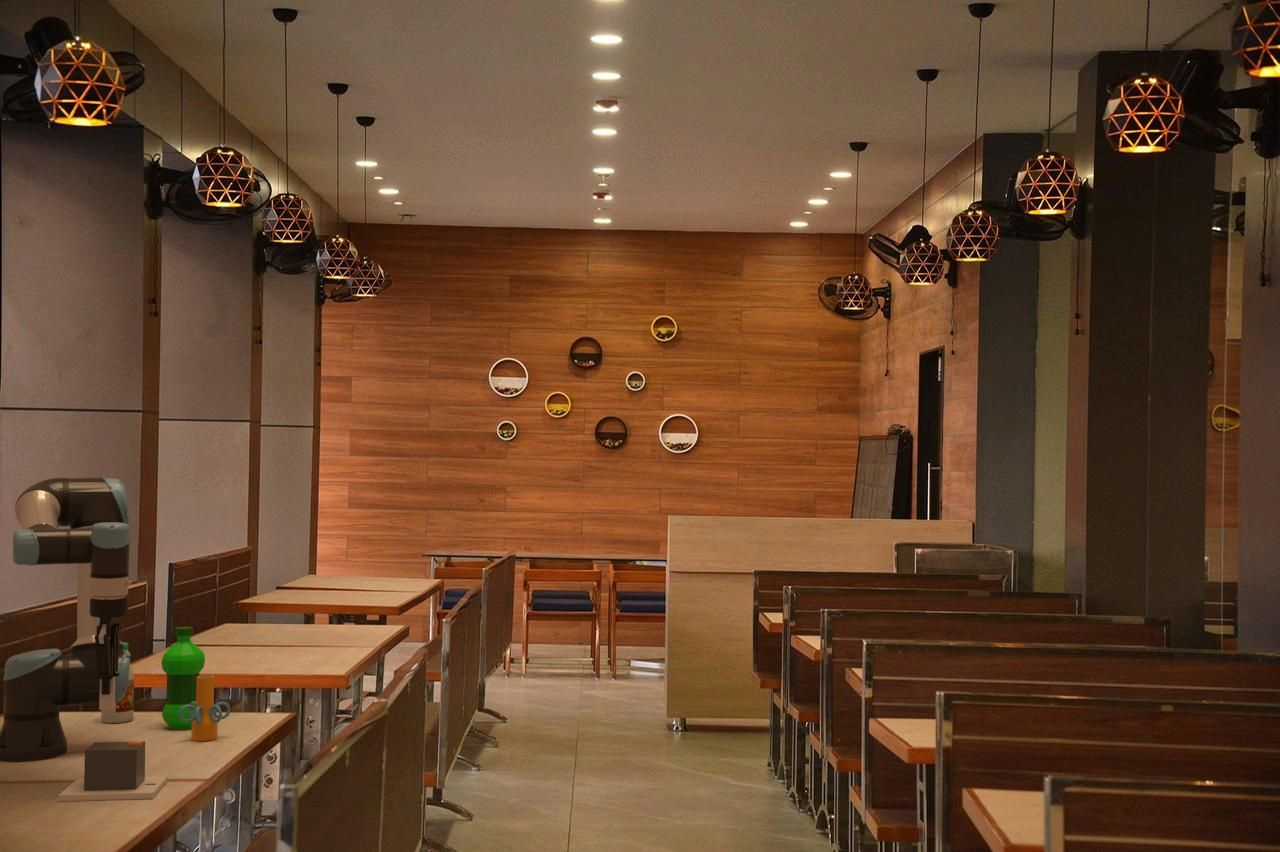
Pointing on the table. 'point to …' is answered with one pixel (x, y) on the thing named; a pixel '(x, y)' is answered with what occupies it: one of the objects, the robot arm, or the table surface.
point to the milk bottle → (122, 702)
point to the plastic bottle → (181, 677)
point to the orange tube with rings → (204, 711)
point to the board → (114, 791)
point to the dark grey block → (114, 766)
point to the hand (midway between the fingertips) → (106, 708)
